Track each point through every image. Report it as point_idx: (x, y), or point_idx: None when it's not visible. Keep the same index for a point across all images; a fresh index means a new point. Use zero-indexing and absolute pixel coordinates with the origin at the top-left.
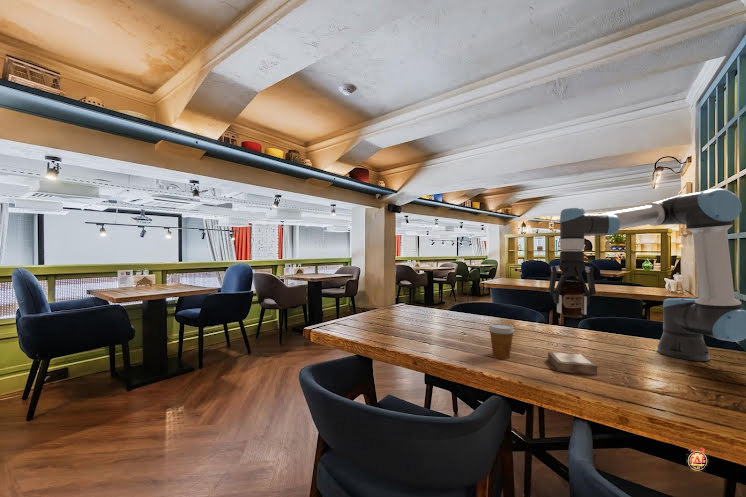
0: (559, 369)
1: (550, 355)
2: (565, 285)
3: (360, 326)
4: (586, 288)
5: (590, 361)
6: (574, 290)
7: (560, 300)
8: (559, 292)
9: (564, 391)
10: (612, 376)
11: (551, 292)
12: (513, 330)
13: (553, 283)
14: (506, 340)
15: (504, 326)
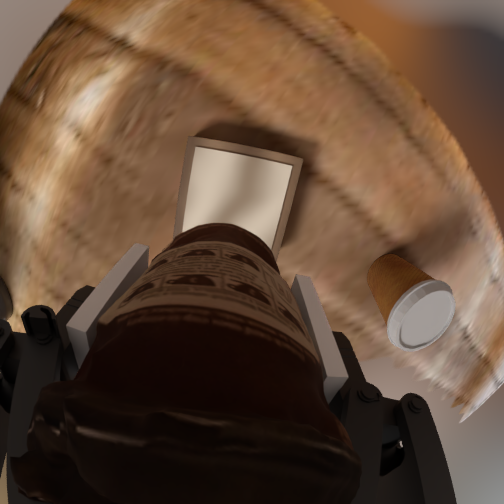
0: (295, 156)
1: (282, 237)
2: (356, 476)
3: (486, 383)
4: (23, 397)
5: (185, 176)
6: (215, 379)
7: (325, 339)
8: (353, 406)
9: (352, 39)
10: (158, 128)
11: (417, 396)
12: (403, 303)
13: (436, 480)
14: (414, 273)
15: (413, 329)
